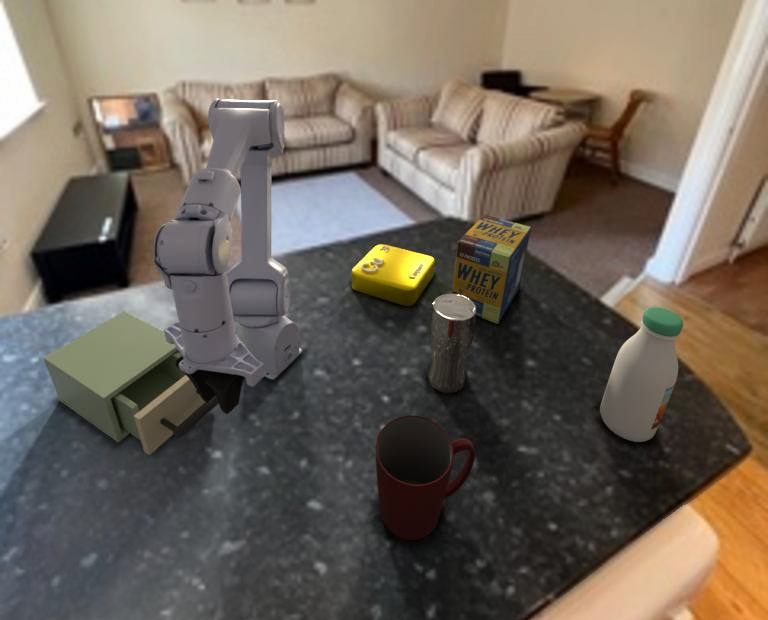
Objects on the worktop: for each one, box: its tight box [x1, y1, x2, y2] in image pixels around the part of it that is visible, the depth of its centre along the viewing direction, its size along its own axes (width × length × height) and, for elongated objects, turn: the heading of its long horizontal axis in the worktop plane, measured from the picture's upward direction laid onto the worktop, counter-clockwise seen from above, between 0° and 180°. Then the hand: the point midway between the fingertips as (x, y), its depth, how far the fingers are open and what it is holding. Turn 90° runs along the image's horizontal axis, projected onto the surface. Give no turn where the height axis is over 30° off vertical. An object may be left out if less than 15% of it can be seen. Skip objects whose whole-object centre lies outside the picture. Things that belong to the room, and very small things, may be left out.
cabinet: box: [42, 311, 181, 443], centre depth 69 cm, size 15×13×9 cm
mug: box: [375, 414, 476, 541], centre depth 54 cm, size 12×9×11 cm
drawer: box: [111, 352, 219, 456], centre depth 65 cm, size 18×11×7 cm, turn 61°
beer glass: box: [427, 293, 477, 394], centre depth 72 cm, size 7×7×15 cm
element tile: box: [351, 243, 436, 307], centre depth 100 cm, size 15×15×5 cm
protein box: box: [451, 214, 532, 325], centre depth 93 cm, size 10×15×16 cm
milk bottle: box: [599, 306, 684, 443], centre depth 64 cm, size 8×8×20 cm
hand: (221, 401), depth 57 cm, fingers open, 3 cm apart
